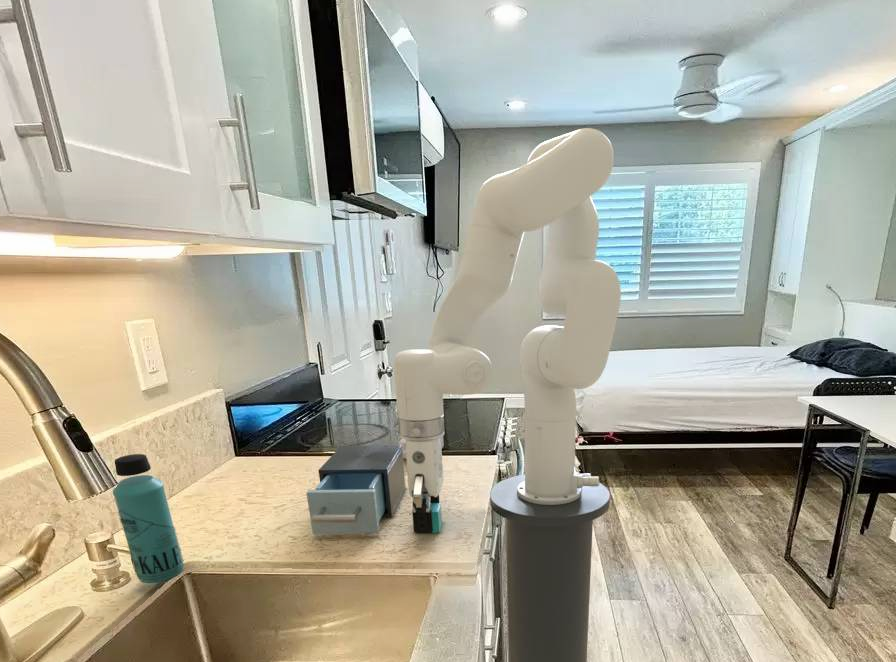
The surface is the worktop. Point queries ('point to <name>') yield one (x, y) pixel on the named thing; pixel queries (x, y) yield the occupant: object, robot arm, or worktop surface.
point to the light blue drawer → (347, 504)
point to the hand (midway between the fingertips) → (427, 520)
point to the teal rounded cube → (436, 516)
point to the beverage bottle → (147, 521)
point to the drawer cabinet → (371, 468)
